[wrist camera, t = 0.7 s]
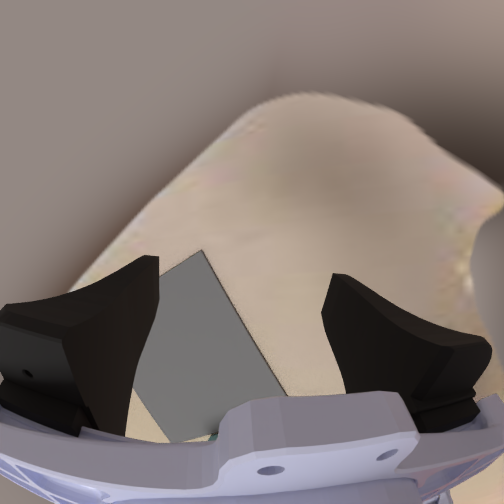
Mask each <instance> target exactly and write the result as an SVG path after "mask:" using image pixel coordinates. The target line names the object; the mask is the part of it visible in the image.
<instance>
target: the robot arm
mask: <svg viewBox="0 0 504 504" xmlns="http://www.w3.org/2000/svg"><path fill="white" fill-rule="evenodd" d="M159 300H160V293H159V256H149V255H144V256H141V257H140V258H138V259H136V260H134V261H133V262H131V263H129V264H128V265H126V266H124V267H123V268H121V269H119V270H118V271H116V272H114V273H112V274H110V275H109V276H107V277H105V278H103V279H101V280H99V281H97V282H95V283H93V284H91V285H88V286H86V287H83V288H81V289H78V290H76V291H72V292H69V293H66V294H63V295H60V296H57V297H52V298H48V299H43V300H38V301H32V302H24V303H13V304H6V305H5V306H4V307H3V308H2V309H1V310H0V372H1V374H2V376H3V378H4V380H3V381H2V383H1V385H0V474H1V475H3V476H4V477H6V478H8V479H9V480H11V481H13V482H15V483H16V484H18V485H20V486H22V487H23V488H25V489H27V490H29V491H31V492H33V493H35V494H37V495H39V496H41V497H43V498H45V499H47V500H49V501H51V502H53V503H55V504H453V501H452V498H451V495H450V490H449V489H451V488H453V487H455V486H457V485H458V484H460V483H462V482H464V481H466V480H467V479H469V478H471V477H473V476H474V475H476V474H478V473H479V472H481V471H483V470H484V469H486V468H487V467H488V466H489V465H490V464H492V463H493V462H494V461H495V460H496V459H497V458H498V457H500V456H501V455H502V454H503V453H504V403H503V402H502V400H501V399H500V397H499V396H498V395H497V394H493V395H490V396H488V397H485V398H482V399H481V400H479V401H478V402H477V403H475V401H474V400H473V397H474V396H475V395H476V392H475V390H474V389H473V386H474V385H475V383H476V382H477V381H478V379H479V378H480V376H481V375H482V373H483V372H484V371H485V369H486V367H487V366H488V364H489V362H490V359H491V355H492V347H491V345H490V344H489V343H488V342H487V341H486V340H485V338H483V337H481V336H477V335H472V334H467V333H462V332H458V331H454V330H451V329H448V328H444V327H442V326H439V325H436V324H433V323H431V322H428V321H426V320H423V319H421V318H419V317H417V316H415V315H413V314H411V313H409V312H407V311H405V310H403V309H401V308H399V307H398V306H396V305H394V304H393V303H391V302H389V301H388V300H386V299H385V298H383V297H382V296H380V295H378V294H377V293H375V292H374V291H372V290H371V289H369V288H368V287H366V286H365V285H363V284H362V283H360V282H359V281H357V280H356V279H354V278H352V277H350V276H348V275H346V274H336V273H333V275H332V278H331V282H330V285H329V288H328V292H327V295H326V298H325V302H324V305H323V308H322V311H321V315H322V320H323V324H324V329H325V332H326V335H327V338H328V340H329V343H330V346H331V348H332V351H333V353H334V356H335V358H336V361H337V364H338V366H339V369H340V372H341V375H342V378H343V382H344V386H345V390H346V394H337V395H319V396H276V397H268V398H261V399H252V400H250V401H248V402H246V403H243V404H241V405H239V406H237V407H235V408H232V409H231V410H229V411H228V412H227V413H226V415H225V416H224V418H223V419H222V421H221V422H220V424H219V432H218V438H217V440H214V441H201V442H181V443H155V442H149V441H143V440H138V439H133V438H128V437H125V431H126V423H127V416H128V409H129V403H130V398H131V393H132V387H133V383H134V378H135V374H136V369H137V366H138V362H139V359H140V356H141V354H142V351H143V349H144V346H145V343H146V341H147V338H148V336H149V333H150V330H151V328H152V325H153V323H154V320H155V317H156V313H157V309H158V304H159ZM439 497H440V498H439Z"/></svg>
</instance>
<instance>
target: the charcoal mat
mask: <svg viewBox="0 0 504 504" xmlns="http://www.w3.org/2000/svg"><path fill="white" fill-rule="evenodd" d="M159 293H160V300H159V304H158V309H157V313H156V317H155V320H154V323H153V325H152V328H151V330H150V333H149V336H148V338H147V341H146V343H145V346H144V349H143V351H142V354H141V356H140V359H139V362H138V366H137V369H136V374H135V378H134V383H133V389H134V390H135V392H136V393H137V395H138V396H139V398H140V399H141V401H142V403H143V404H144V406H145V407H146V409H147V410H148V412H149V413H150V414H151V416H152V417H153V419H154V420H155V422H156V423H157V424H158V426H159V427H160V429H161V430H162V431H163V433H164V434H165V435H166V437H167V438H168V439H169V441H170V442H171V443H179V442H183V441H187V440H191V439H195V438H198V437H202V436H205V435H209V434H212V433H216V432H219V424H220V422H221V421H222V419H223V418H224V416H225V415H226V413H227V412H228V411H229V410H231V409H232V408H235V407H237V406H239V405H241V404H243V403H246V402H248V401H250V400H252V399H261V398H268V397H276V396H287V395H286V393H285V392H284V390H283V388H282V387H281V385H280V384H279V382H278V380H277V379H276V377H275V375H274V374H273V372H272V371H271V369H270V367H269V366H268V364H267V362H266V361H265V359H264V357H263V356H262V354H261V353H260V351H259V349H258V348H257V346H256V344H255V343H254V341H253V339H252V337H251V336H250V334H249V332H248V331H247V329H246V327H245V326H244V324H243V322H242V320H241V319H240V317H239V315H238V314H237V312H236V310H235V308H234V307H233V305H232V303H231V301H230V300H229V298H228V296H227V294H226V293H225V291H224V289H223V287H222V286H221V284H220V282H219V280H218V278H217V277H216V275H215V273H214V271H213V270H212V268H211V266H210V264H209V262H208V260H207V259H206V257H205V255H204V253H203V251H200V252H198V253H196V254H195V255H193V256H192V257H190V258H189V259H187V260H185V261H184V262H182V263H181V264H179V265H178V266H176V267H174V268H173V269H171V270H170V271H168V272H167V273H165V274H164V275H162V276H161V277H159Z"/></svg>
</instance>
